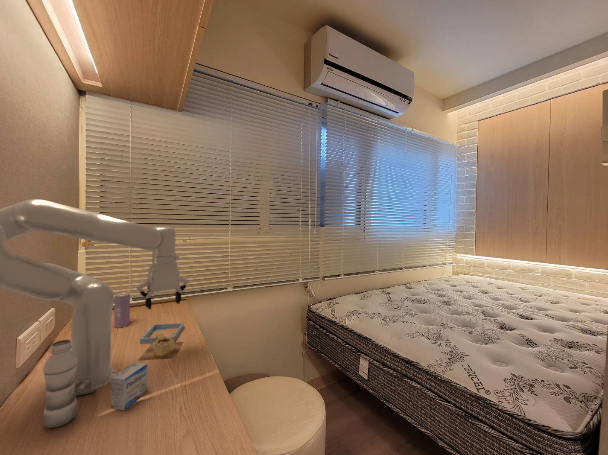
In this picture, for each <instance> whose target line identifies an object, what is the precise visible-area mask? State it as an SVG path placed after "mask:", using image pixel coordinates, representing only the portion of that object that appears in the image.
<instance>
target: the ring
mask: <svg viewBox="0 0 608 455" xmlns="http://www.w3.org/2000/svg"><path fill="white" fill-rule="evenodd" d="M155 337H156V341H154V342H153V343H152V344H153V356H154V357H157V358H162V357H166V356H169V355H171V354H172V353H173V352H174V342H175V341H174V340H173V338H171V337H170V336H165V335H164V333H160V334H155ZM160 342H167V343H163V344H159V343H160Z"/></svg>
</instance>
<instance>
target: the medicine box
mask: <svg viewBox="0 0 608 455" xmlns="http://www.w3.org/2000/svg"><path fill="white" fill-rule="evenodd" d="M147 390H148V364H147V363H143V362H134V363H133V364H131V365H129V366H128V367H126V368H124V369H123V370H121V371H120V372H118V373H117V374H116V375H115V376H113V377H112V378H111V381H110V406H112V407H110V408H111V409H114V410H120V411H126V410H127V409H128V408H130V407H131V406H132V405H133V404H134V403H136V402H137V401H138V400H139V399H141V395H143V393H144V392H146V391H147Z"/></svg>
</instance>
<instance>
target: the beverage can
mask: <svg viewBox="0 0 608 455" xmlns="http://www.w3.org/2000/svg"><path fill="white" fill-rule="evenodd" d="M113 307H114V309H113V310H114V312H113V314H114V319H113V320H114V322H113V323H114V324H113V326H114V327H115V328H116V327H117V328H116V329H119V327H122V328H125V327H124V326H126V327H127V325H128V326H129V325H130V321H131V314H130V313H131V310H130V309H131V295H130V292H119V293H115V294H114V302H113Z"/></svg>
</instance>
